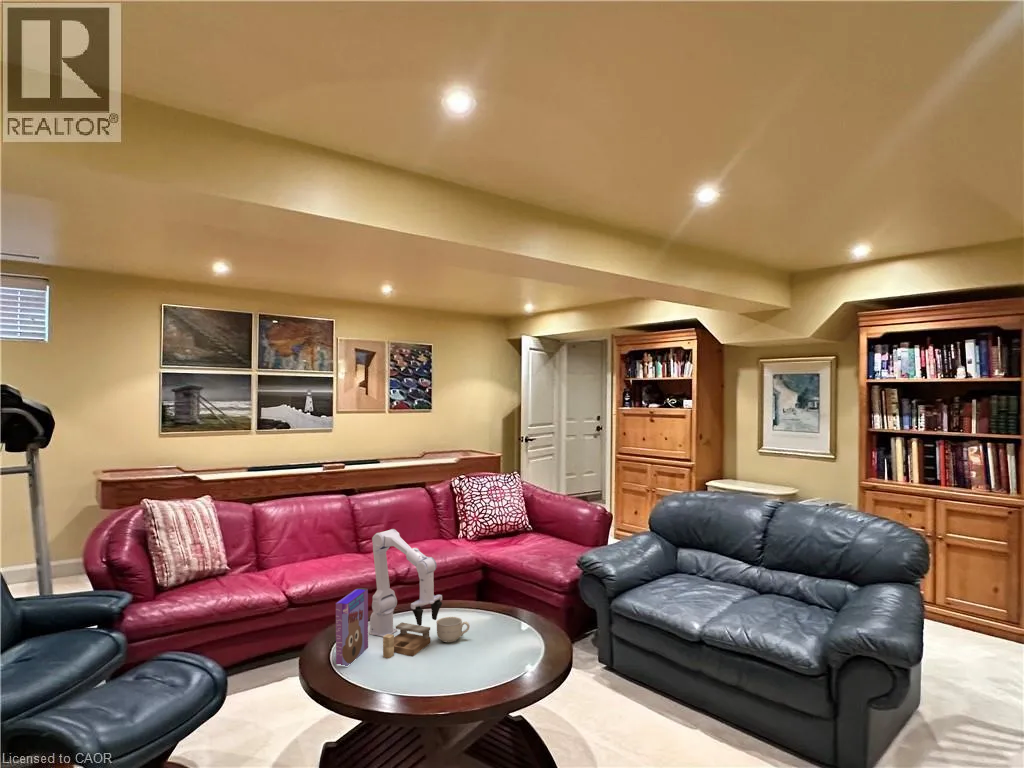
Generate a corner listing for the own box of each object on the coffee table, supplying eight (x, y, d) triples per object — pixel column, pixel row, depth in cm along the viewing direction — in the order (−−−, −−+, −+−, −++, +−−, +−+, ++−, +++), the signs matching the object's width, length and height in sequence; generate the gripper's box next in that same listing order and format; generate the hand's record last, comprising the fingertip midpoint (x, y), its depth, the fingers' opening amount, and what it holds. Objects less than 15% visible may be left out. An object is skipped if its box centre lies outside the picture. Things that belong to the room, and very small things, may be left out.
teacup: (432, 643, 238) (431, 623, 238) (443, 632, 248) (443, 614, 248) (463, 647, 233) (462, 627, 234) (473, 636, 244) (473, 617, 244)
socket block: (383, 650, 231) (383, 634, 231) (402, 637, 243) (401, 622, 243) (412, 656, 226) (412, 639, 226) (430, 643, 238) (430, 627, 238)
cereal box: (347, 667, 217) (347, 603, 218) (336, 666, 218) (335, 602, 219) (368, 647, 234) (367, 588, 235) (357, 646, 235) (357, 587, 236)
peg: (383, 657, 225) (383, 636, 226) (387, 654, 228) (387, 633, 228) (389, 658, 224) (389, 637, 224) (394, 655, 227) (393, 634, 227)
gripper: (418, 595, 227) (418, 630, 227) (446, 586, 237) (446, 619, 237) (407, 591, 232) (407, 625, 232) (436, 582, 242) (436, 615, 242)
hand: (426, 622), depth 235 cm, fingers open, 7 cm apart
